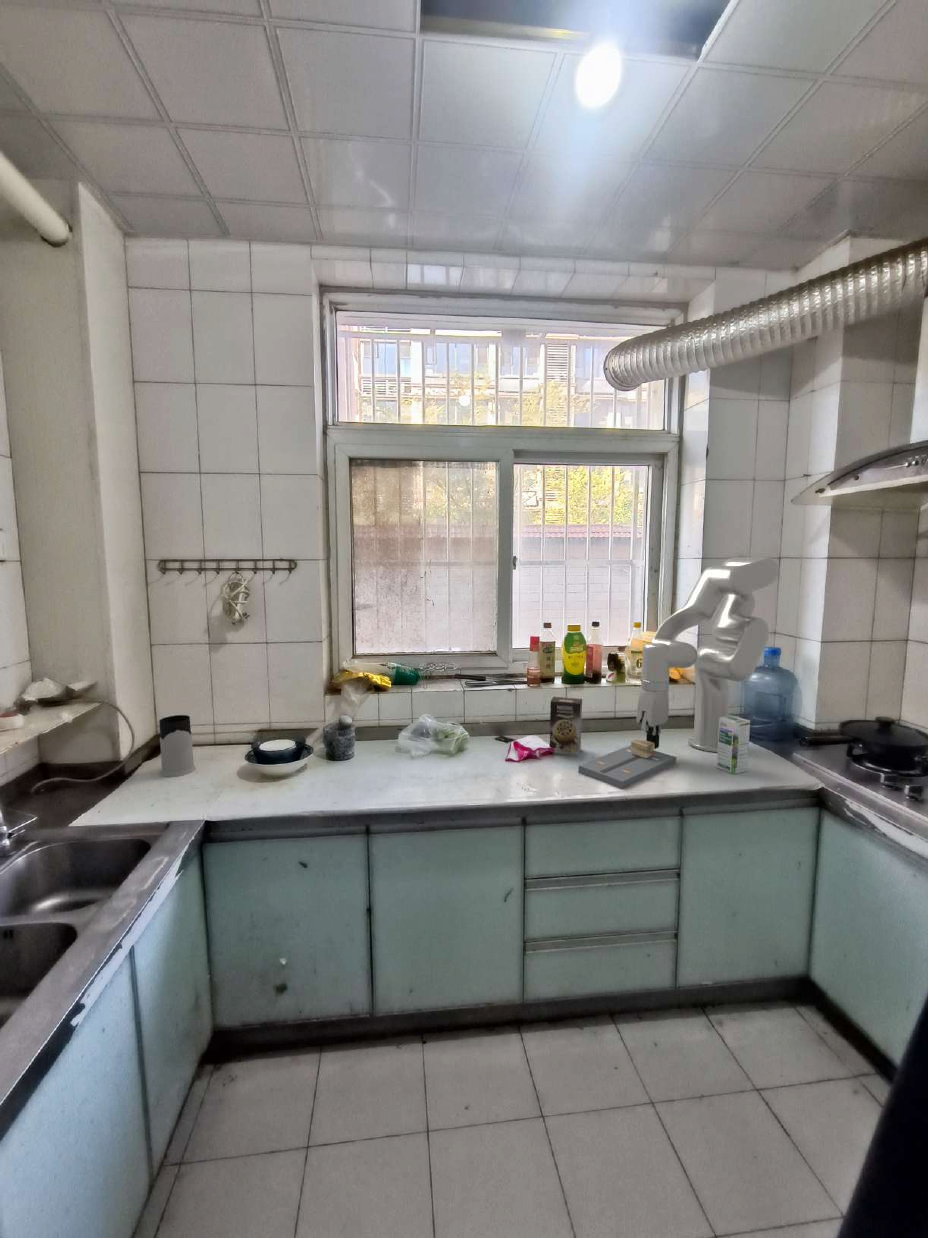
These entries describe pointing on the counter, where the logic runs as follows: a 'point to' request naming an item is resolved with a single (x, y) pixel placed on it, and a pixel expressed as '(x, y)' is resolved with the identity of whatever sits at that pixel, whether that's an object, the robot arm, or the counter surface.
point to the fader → (642, 748)
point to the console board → (625, 767)
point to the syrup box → (733, 744)
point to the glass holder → (176, 746)
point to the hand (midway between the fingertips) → (652, 746)
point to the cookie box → (565, 725)
